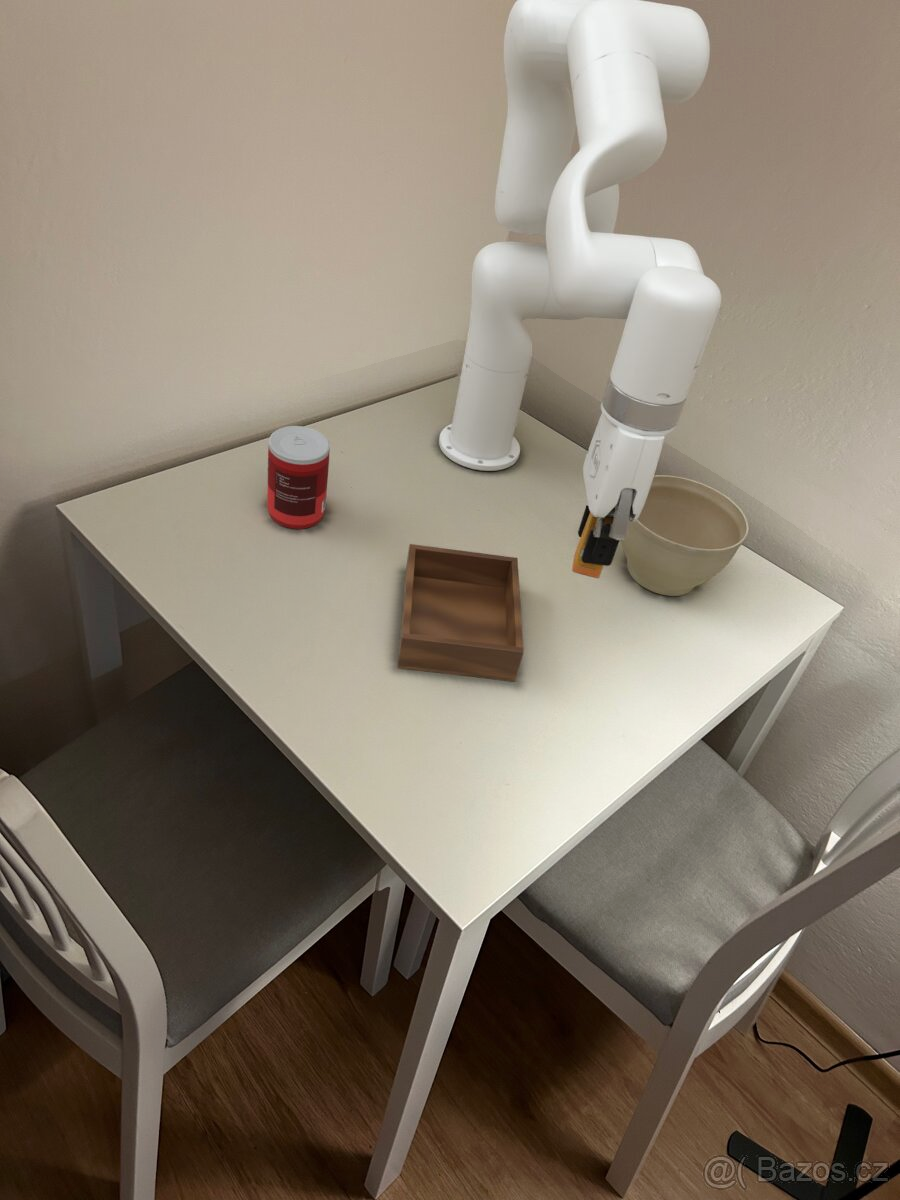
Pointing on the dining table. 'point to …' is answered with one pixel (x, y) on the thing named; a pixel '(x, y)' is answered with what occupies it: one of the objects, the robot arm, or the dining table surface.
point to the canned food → (297, 476)
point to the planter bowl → (682, 535)
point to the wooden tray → (461, 614)
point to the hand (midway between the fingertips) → (593, 548)
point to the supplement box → (578, 564)
